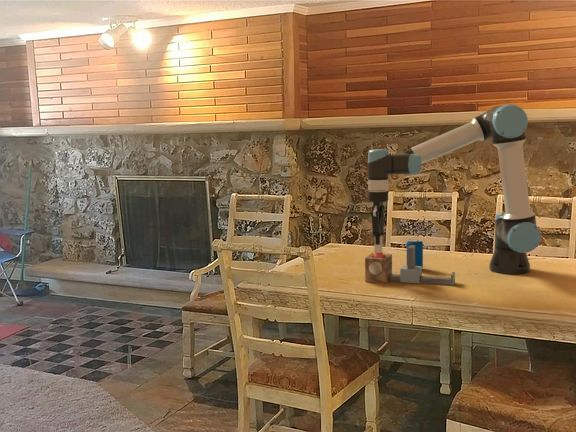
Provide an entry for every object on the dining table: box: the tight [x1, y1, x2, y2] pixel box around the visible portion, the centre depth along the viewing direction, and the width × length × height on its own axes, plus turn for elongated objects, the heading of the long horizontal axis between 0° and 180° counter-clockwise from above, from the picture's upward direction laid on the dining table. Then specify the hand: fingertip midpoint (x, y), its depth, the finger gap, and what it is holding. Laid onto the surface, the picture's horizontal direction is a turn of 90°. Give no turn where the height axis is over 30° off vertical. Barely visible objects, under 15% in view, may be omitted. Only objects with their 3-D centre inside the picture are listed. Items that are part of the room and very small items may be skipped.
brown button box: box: [364, 252, 393, 284], centre depth 235 cm, size 8×10×9 cm
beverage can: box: [406, 238, 424, 269], centre depth 249 cm, size 6×6×12 cm
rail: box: [388, 271, 456, 287], centre depth 229 cm, size 24×5×4 cm, turn 68°
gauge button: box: [373, 252, 384, 258], centre depth 234 cm, size 4×4×6 cm
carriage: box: [399, 245, 423, 284], centre depth 230 cm, size 7×6×13 cm
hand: (378, 252), depth 234 cm, fingers closed
